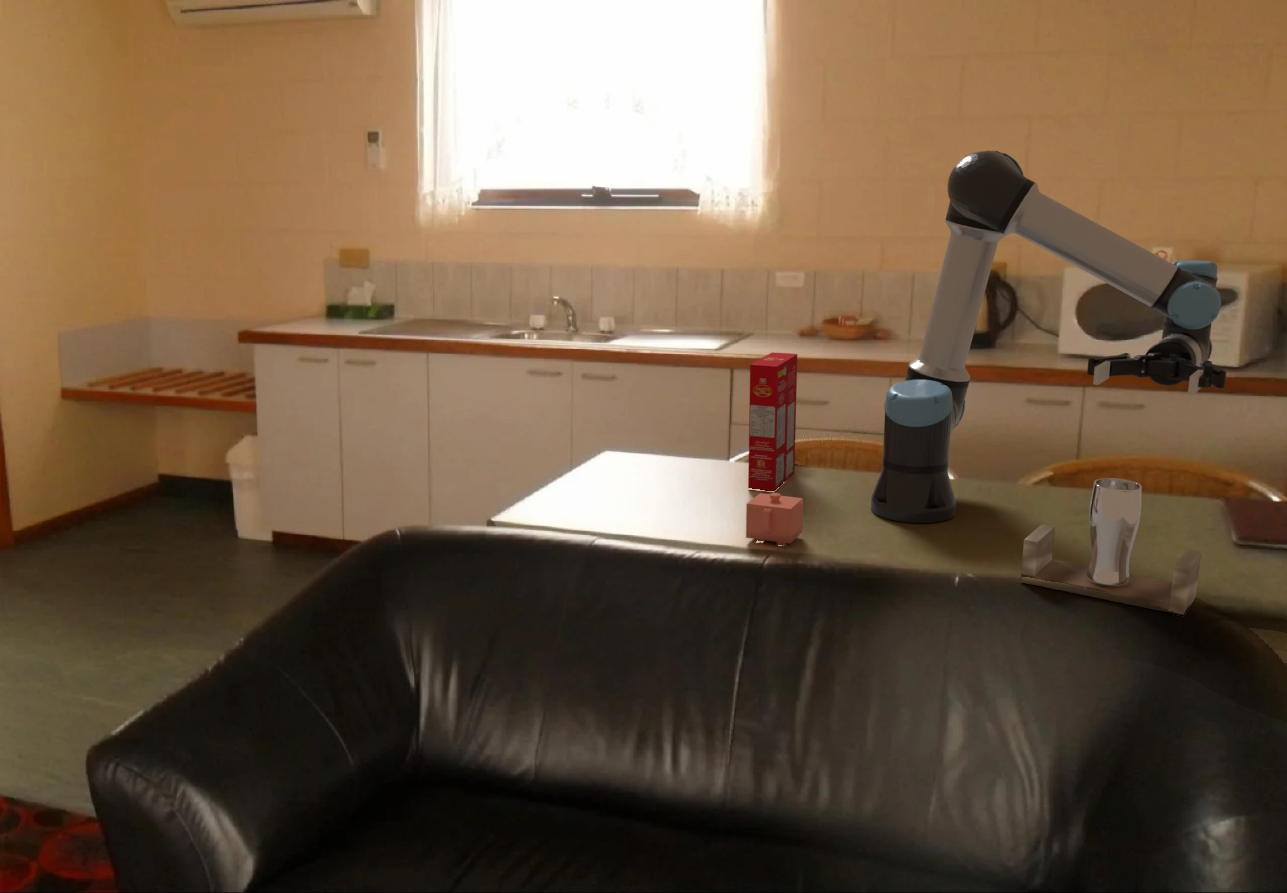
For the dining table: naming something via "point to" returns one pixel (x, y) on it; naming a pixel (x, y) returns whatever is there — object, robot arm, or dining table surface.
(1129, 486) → the beer glass
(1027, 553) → the board
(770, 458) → the food packaging
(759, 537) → the pink cube teapot
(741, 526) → the dining table surface
